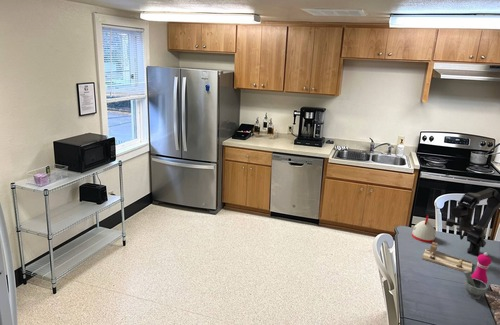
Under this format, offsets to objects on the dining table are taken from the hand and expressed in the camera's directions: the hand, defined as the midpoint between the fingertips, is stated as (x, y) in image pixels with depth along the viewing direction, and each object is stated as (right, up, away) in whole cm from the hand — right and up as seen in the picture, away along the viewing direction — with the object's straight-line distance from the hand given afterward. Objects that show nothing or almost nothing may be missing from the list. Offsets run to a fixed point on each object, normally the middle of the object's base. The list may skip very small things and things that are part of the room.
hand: (461, 239), depth 214 cm
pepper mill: (-6, -20, -24) cm, 32 cm away
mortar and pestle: (-13, -21, -31) cm, 40 cm away
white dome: (-10, -4, +26) cm, 29 cm away
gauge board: (-9, -13, -2) cm, 16 cm away
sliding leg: (-16, -9, +3) cm, 18 cm away
